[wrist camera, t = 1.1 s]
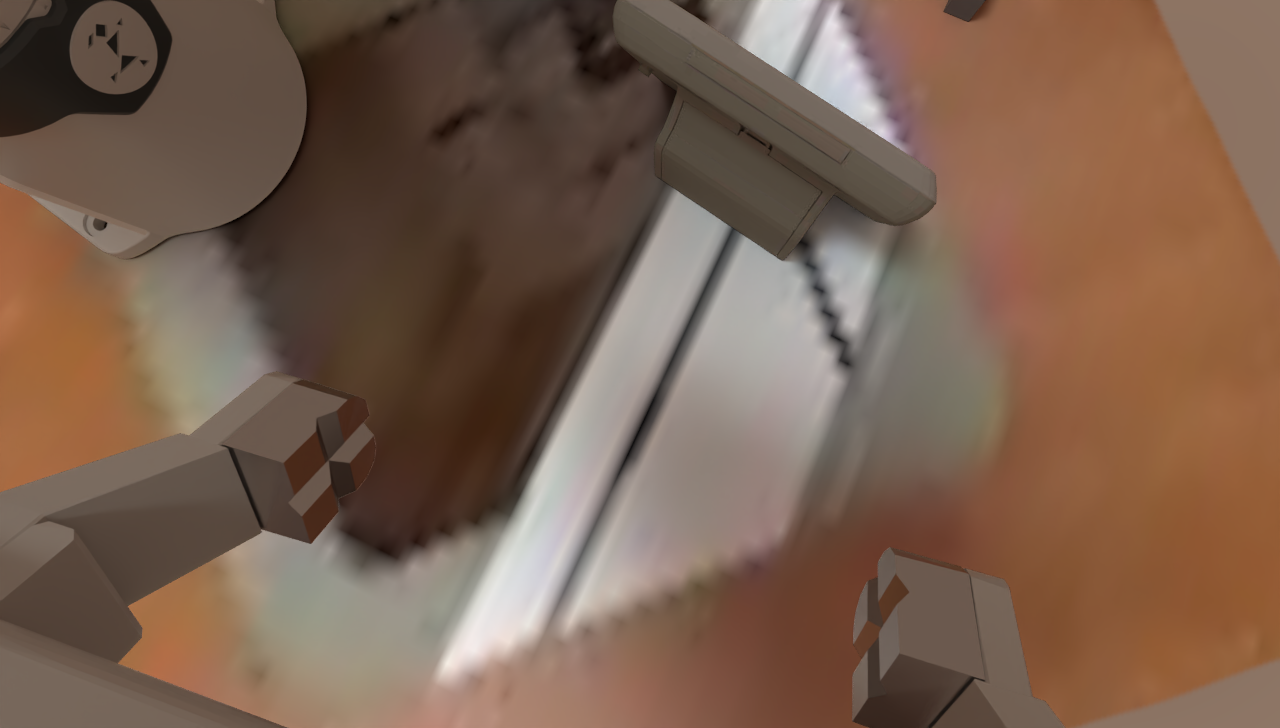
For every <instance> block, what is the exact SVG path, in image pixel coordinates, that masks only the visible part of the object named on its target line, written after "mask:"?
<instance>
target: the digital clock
mask: <svg viewBox="0 0 1280 728" xmlns="http://www.w3.org/2000/svg"><path fill="white" fill-rule="evenodd" d="M613 27H614V33H615V38H616V41H617V43H618V44H619V45H620V46H621V47H623V48H624V49H625V50H626V51H627V52H628V53H629V54H631V55H632V56H633V57H634V58H635V59H636V60H637V61H639V62H640V63H641V64H640V67H639V69H638V70H639V71H640V72H642V73H643V74H645V75H646V76H648V77H649V75H650V74H651V73H652V74H654V75H655V76H656V77H657V78H658V79H660V80H661V81H662V82H664V83H665V84H667V85H668V86H670V87H671V88H673V89H674V90H676V91H677V93H676V96H675V99H674V102H673V104H672V107H671V110H670V112H669V115H668V117H667V120H666V122H665V125H664V127H663V129H662V131H661V133H660V134H659V136H658V138H657V140H656V143H655V146H654V165H655V175H656V176H657V177H658V178H660V179H661V180H663V181H664V182H666V183H667V184H669V185H670V186H672V187H673V188H675V189H676V190H678V191H679V192H681V193H682V194H684V195H685V196H687V197H688V198H690V199H691V200H693V201H694V202H696V203H697V204H699V205H700V206H702V207H703V208H705V209H706V210H708V211H709V212H710V213H712V214H713V215H715V216H716V217H718V218H719V219H721V220H722V221H724V222H725V223H727V224H728V225H730V226H731V227H733V228H734V229H736V230H737V231H739V232H740V233H742V234H743V235H745V236H746V237H748V238H749V239H751V240H752V241H754V242H755V243H757V244H758V245H760V246H761V247H763V248H764V249H766V250H767V251H769V252H770V253H772V254H773V255H775V256H776V255H777V256H776V257H778V258H779V259H781V260H785V258H786V257H787V256H788V255H789V254H790V253H791V251H792V250H793V249H794V248H795V247H796V245H797V244H798V243H799V242H800V240H801V239H802V238H803V236H804V235H805V233H806V232H807V231H808V229H809V228H810V226H811V225H812V224H813V222H814V221H815V219H816V218H817V217H818V215H819V214H820V213H821V211H822V210H823V209H824V207H825V206H826V205H827V203H828V202H829V201H830V199H831V198H832V197H833V195H835V196H837V197H838V198H840V199H841V200H843V201H844V202H846V203H847V204H849V205H850V206H852V207H853V208H855V209H856V210H858V211H860V212H861V213H863V214H864V215H866V216H867V217H869V218H870V219H872V220H874V221H876V222H880V223H884V224H888V225H893V226H900V225H904V224H907V223H910V222H913V221H915V220H917V219H920V218H921V217H923V216H924V215H925V214H927V213H928V212H929V211H930V210H931V209H932V208H933V207H934V205H935V204H936V175H935V174H934V173H933V172H932V171H931V170H930V169H928V168H927V167H926V166H924V165H923V164H921V163H920V162H918V161H917V160H915V159H914V158H912V157H911V156H909V155H907V154H906V153H904V152H903V151H901V150H900V149H898V148H897V147H895V146H894V145H892V144H891V143H889V142H888V141H886V140H885V139H883V138H881V137H880V136H878V135H877V134H875V133H874V132H872V131H871V130H869V129H868V128H866V127H864V126H863V125H861V124H860V123H858V122H857V121H855V120H854V119H852V118H851V117H849V116H847V115H846V114H844V113H843V112H841V111H840V110H838V109H837V108H835V107H834V106H832V105H830V104H829V103H827V102H826V101H824V100H823V99H821V98H820V97H818V96H817V95H815V94H813V93H812V92H810V91H809V90H807V89H806V88H804V87H803V86H801V85H800V84H798V83H796V82H795V81H793V80H792V79H790V78H789V77H787V76H786V75H784V74H783V73H781V72H780V71H778V70H776V69H775V68H773V67H772V66H770V65H769V64H767V63H766V62H764V61H763V60H761V59H759V58H758V57H756V56H755V55H753V54H752V53H750V52H749V51H747V50H746V49H744V48H742V47H741V46H739V45H738V44H736V43H735V42H733V41H732V40H730V39H729V38H727V37H725V36H724V35H722V34H721V33H719V32H718V31H716V30H715V29H713V28H712V27H710V26H708V25H707V24H705V23H704V22H702V21H701V20H699V19H698V18H696V17H695V16H693V15H691V14H690V13H688V12H687V11H685V10H684V9H682V8H681V7H679V6H677V5H676V4H674V3H673V2H671V1H670V0H617V2H616V5H615V7H614V13H613ZM706 102H707V103H706ZM804 167H806V168H804ZM807 169H809V170H807ZM811 171H812V172H811ZM814 173H816V174H814ZM817 175H819V176H817ZM820 177H822V178H820ZM824 179H825V181H824ZM827 181H828V183H827ZM830 183H831V185H830ZM833 185H834V187H833Z"/></svg>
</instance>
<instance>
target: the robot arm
mask: <svg viewBox="0 0 1280 728" xmlns="http://www.w3.org/2000/svg"><path fill="white" fill-rule="evenodd" d="M306 111H307V97H306V87H305V81H304V77H303V73H302V69H301V66H300V63H299V61H298V59H297V56H296V54H295V52H294V50H293V48H292V46H291V45H290V43H289V41H288V40H287V38H286V36H285V35H284V33H283V31H282V29H281V27H280V25H279V23H278V21H277V18H276V8H275V0H0V183H2V184H4V185H6V186H9V187H11V188H14V189H16V190H19V191H22V192H25V193H27V194H28V195H29V196H31V197H32V198H33V199H35V200H36V201H37V202H38V203H40V204H41V205H42V206H44V207H45V208H46V209H48V210H49V211H50V212H52V213H53V214H54V215H55V216H57V217H58V218H59V219H61V220H62V221H63V222H65V223H66V224H67V225H69V226H70V227H71V228H72V229H74V230H75V231H76V232H78V233H79V234H80V235H82V236H83V237H84V238H86V239H87V240H88V241H89V242H91V243H92V244H93V245H95V246H96V247H97V248H99V249H100V250H102V251H103V252H105V253H108V254H110V255H113V256H115V257H118V258H121V259H129V258H133V257H136V256H138V255H140V254H142V253H144V252H146V251H148V250H149V249H151V248H153V247H154V246H156V245H157V244H159V243H160V242H162V241H163V240H165V239H166V238H169V237H172V236H175V235H179V234H183V233H189V232H196V231H201V230H206V229H210V228H214V227H217V226H220V225H223V224H225V223H228V222H230V221H232V220H234V219H236V218H238V217H240V216H242V215H243V214H245V213H247V212H248V211H250V210H251V209H252V208H254V207H255V206H256V205H258V204H259V203H260V202H261V201H262V200H264V199H265V198H266V197H267V196H268V195H269V194H270V193H271V192H272V191H273V190H274V188H275V187H276V186H277V185H278V184H279V182H280V181H281V180H282V178H283V177H284V175H285V174H286V172H287V171H288V169H289V168H290V166H291V164H292V162H293V160H294V158H295V156H296V153H297V151H298V148H299V146H300V143H301V140H302V136H303V132H304V127H305V121H306ZM106 222H108V223H107V227H106V228H105V229H104V224H105V223H106ZM368 417H369V411H368V407H367V403H366V400H365V399H363V398H360V397H358V396H355V395H352V394H349V393H346V392H342V391H339V390H336V389H333V388H330V387H327V386H323V385H320V384H317V383H314V382H311V381H308V380H304V379H300V378H297V377H294V376H290V375H287V374H284V373H280V372H277V371H276V372H272V373H269V374H265V375H264V376H262V377H261V378H260V379H259V380H257V381H256V382H255V383H254V384H252V385H251V386H250V387H249V388H247V389H246V390H245V391H244V392H243V393H241V394H240V395H239V396H238V397H236V398H235V399H234V400H233V401H231V402H230V403H229V404H228V405H226V406H225V407H224V408H223V409H221V410H220V411H219V412H218V413H216V414H215V415H214V416H213V417H212V418H210V419H209V420H208V421H207V422H205V423H204V424H203V425H202V426H200V427H199V428H198V429H197V430H195V431H194V432H193V433H192V434H190V435H189V436H188V435H185V434H181V433H180V434H177V435H174V436H171V437H167V438H164V439H161V440H158V441H155V442H152V443H149V444H146V445H143V446H140V447H137V448H134V449H131V450H128V451H125V452H122V453H119V454H116V455H113V456H110V457H107V458H104V459H101V460H97V461H94V462H91V463H88V464H85V465H82V466H79V467H76V468H73V469H70V470H67V471H64V472H61V473H58V474H55V475H52V476H49V477H46V478H43V479H40V480H37V481H34V482H31V483H27V484H24V485H21V486H18V487H15V488H12V489H9V490H6V491H3V492H0V728H287V727H284V726H281V725H279V724H276V723H273V722H271V721H268V720H266V719H263V718H260V717H258V716H255V715H252V714H250V713H247V712H244V711H242V710H239V709H237V708H234V707H231V706H229V705H226V704H223V703H221V702H218V701H215V700H213V699H210V698H207V697H205V696H202V695H200V694H197V693H194V692H192V691H189V690H186V689H184V688H181V687H178V686H176V685H173V684H170V683H168V682H165V681H163V680H160V679H157V678H155V677H152V676H149V675H147V674H144V673H141V672H139V671H136V670H133V669H131V668H128V667H126V666H123V665H120V664H118V662H119V661H120V660H121V659H122V658H123V657H124V656H125V655H126V654H127V653H128V652H129V651H130V650H131V648H132V647H133V646H134V645H135V644H136V643H137V642H138V641H139V640H140V639H141V638H142V627H141V625H140V624H139V622H138V621H137V620H136V618H135V617H134V615H133V614H132V612H131V611H130V609H129V608H128V607H127V606H129V605H130V604H132V603H134V602H136V601H138V600H140V599H141V598H143V597H145V596H147V595H149V594H151V593H152V592H154V591H156V590H158V589H160V588H161V587H163V586H165V585H167V584H169V583H171V582H172V581H174V580H176V579H178V578H180V577H182V576H183V575H185V574H187V573H189V572H191V571H193V570H194V569H196V568H198V567H200V566H202V565H204V564H205V563H207V562H209V561H211V560H213V559H215V558H216V557H218V556H220V555H222V554H224V553H225V552H227V551H229V550H231V549H233V548H235V547H236V546H238V545H240V544H242V543H244V542H246V541H247V540H249V539H251V538H253V537H255V536H257V535H258V534H260V533H261V532H262V531H261V529H262V530H265V531H269V532H272V533H275V534H279V535H282V536H286V537H289V538H292V539H296V540H299V541H302V542H306V543H309V544H311V543H312V542H313V541H314V540H315V539H316V537H317V536H318V535H319V534H320V533H321V532H322V530H323V529H324V528H325V527H326V526H327V525H328V523H329V522H330V521H331V520H332V519H333V517H334V516H335V515H336V514H337V513H338V512H339V498H340V497H343V496H345V495H347V494H349V493H352V492H354V491H356V490H357V489H358V488H359V486H360V485H361V484H362V483H363V481H364V480H365V479H366V478H367V476H368V474H369V471H370V469H371V467H372V465H373V462H374V460H375V450H376V445H375V439H374V435H373V434H372V433H371V432H370V430H369V429H368V428H367V427H366V426H365V424H364V423H363V422H364V421H365V420H366V419H367V418H368ZM853 645H854V647H855V649H856V650H857V652H858V654H859V655H860V657H861V659H862V660H861V662H860V663H859V665H858V667H857V668H856V670H855V672H854V673H853V699H852V722H855V723H858V724H861V725H863V726H866V727H869V728H1065V726H1064V725H1063V724H1062V722H1061V721H1060V720H1059V718H1058V717H1057V716H1056V715H1055V713H1054V712H1053V711H1052V709H1051V708H1050V707H1049V705H1048V704H1047V703H1046V701H1044V700H1041V699H1038V698H1035V697H1033V696H1032V691H1031V686H1030V682H1029V677H1028V672H1027V668H1026V663H1025V658H1024V654H1023V649H1022V644H1021V640H1020V635H1019V630H1018V626H1017V621H1016V616H1015V612H1014V607H1013V602H1012V598H1011V593H1010V588H1009V586H1008V584H1007V583H1006V582H1005V580H1004V579H1001V578H998V577H994V576H991V575H987V574H983V573H980V572H976V571H973V570H969V569H966V568H964V569H963V568H962V567H960V566H957V565H953V564H949V563H946V562H942V561H938V560H935V559H931V558H927V557H924V556H920V555H916V554H913V553H909V552H905V551H902V550H898V549H894V548H891V547H890V548H888V549H887V550H886V551H884V553H883V555H882V556H881V558H880V560H879V562H878V577H877V578H874V579H872V580H869V581H867V583H866V585H865V587H864V589H863V591H862V593H861V595H860V599H859V602H858V606H857V609H856V613H855V621H854V634H853Z"/></svg>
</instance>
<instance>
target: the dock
mask: <svg viewBox="0 0 1280 728" xmlns="http://www.w3.org/2000/svg"><path fill="white" fill-rule="evenodd" d="M984 1H985V0H949V1H948V3H947V5H946V7H945V9H944V12H946V13H948V14H951V15H953V16H956V17H958V18H961V19H963V20H965V21H968V22H969V20H970V19H971V18H972V16H973V15H974V14H975V13H976V11H977V10H978V9H979V8H980V6H981V5H982V4H983V3H984Z"/></svg>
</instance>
